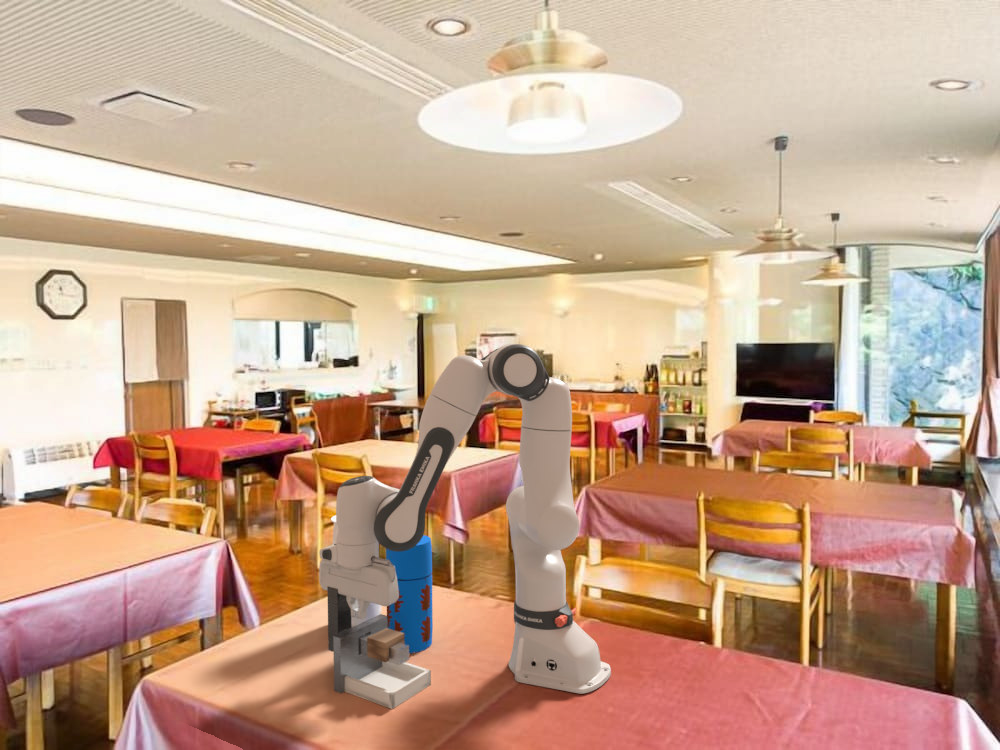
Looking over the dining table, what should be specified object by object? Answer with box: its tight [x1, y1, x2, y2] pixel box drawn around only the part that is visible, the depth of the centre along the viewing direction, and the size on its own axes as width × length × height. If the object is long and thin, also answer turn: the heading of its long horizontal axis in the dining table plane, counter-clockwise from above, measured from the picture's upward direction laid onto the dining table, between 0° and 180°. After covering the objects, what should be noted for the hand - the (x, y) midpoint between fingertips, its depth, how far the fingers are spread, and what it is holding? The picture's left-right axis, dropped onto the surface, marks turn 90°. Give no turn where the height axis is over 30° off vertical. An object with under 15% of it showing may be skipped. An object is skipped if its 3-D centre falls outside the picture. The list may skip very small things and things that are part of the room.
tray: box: [344, 661, 432, 710], centre depth 146 cm, size 13×12×3 cm
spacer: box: [367, 628, 404, 662], centre depth 146 cm, size 5×6×4 cm
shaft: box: [326, 587, 410, 665], centre depth 149 cm, size 20×4×14 cm, turn 56°
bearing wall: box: [333, 613, 388, 694], centre depth 150 cm, size 2×14×12 cm, turn 147°
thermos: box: [385, 534, 434, 654], centre depth 167 cm, size 11×11×25 cm
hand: (358, 617), depth 150 cm, fingers closed
